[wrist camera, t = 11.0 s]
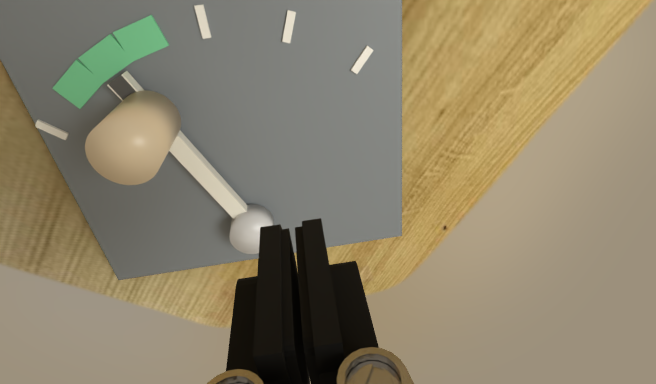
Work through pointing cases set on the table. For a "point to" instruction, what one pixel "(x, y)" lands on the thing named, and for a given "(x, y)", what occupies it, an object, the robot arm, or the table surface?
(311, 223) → the robot arm
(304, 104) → the dial board
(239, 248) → the tuning lever
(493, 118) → the table surface
